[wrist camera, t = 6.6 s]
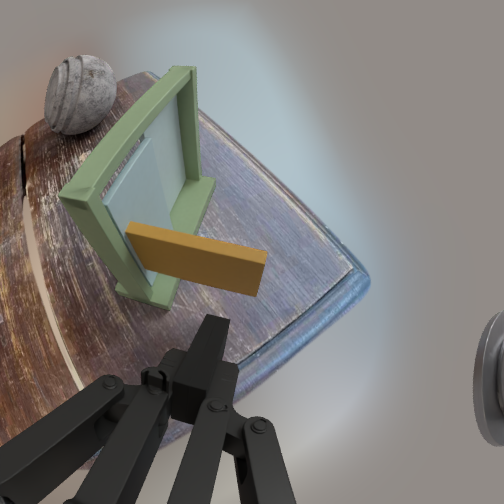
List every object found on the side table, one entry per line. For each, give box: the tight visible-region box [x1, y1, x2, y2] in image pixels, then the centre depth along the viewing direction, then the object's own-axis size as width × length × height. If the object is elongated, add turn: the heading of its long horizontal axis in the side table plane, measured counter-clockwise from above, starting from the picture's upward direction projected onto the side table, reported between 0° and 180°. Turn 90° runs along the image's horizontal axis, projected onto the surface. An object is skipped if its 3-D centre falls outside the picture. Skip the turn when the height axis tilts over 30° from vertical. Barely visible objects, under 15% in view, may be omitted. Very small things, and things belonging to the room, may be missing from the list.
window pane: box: [102, 138, 267, 297], centre depth 22 cm, size 10×7×13 cm, turn 78°
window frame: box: [58, 66, 216, 311], centre depth 24 cm, size 6×17×16 cm, turn 168°
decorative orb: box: [44, 55, 117, 135], centre depth 35 cm, size 15×14×15 cm
